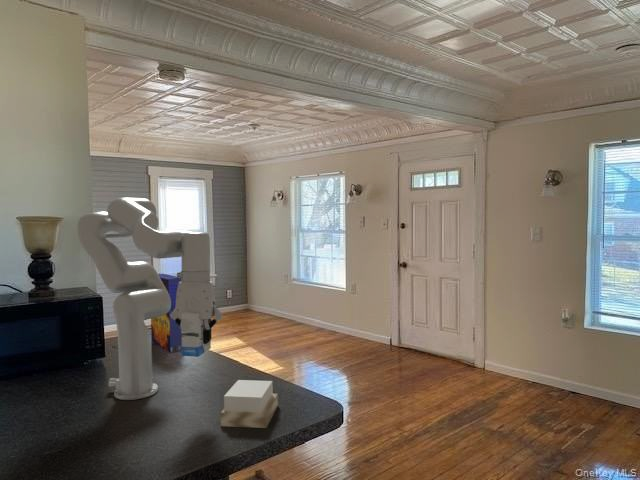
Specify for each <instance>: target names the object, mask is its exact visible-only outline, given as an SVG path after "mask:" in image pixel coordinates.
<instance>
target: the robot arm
mask: <svg viewBox="0 0 640 480" xmlns="http://www.w3.org/2000/svg"><path fill="white" fill-rule="evenodd" d="M76 226H77V228H76V229H77V237H78V240H79V243H80V245H81V246H82V248H83V250H84V252H86V253H87V255H88V256H89V257H90V258H91V260H92V261H93V263H94V265H95V267H96V269H97V271H98V273H99V275H100V277H101V278H102V281H103V283H104V284H105V286H106V288H107V289H108V290H109V292H111V293H113V294H119V295H118V296H116V298H115V299H114V301H113V304H112V309H113V314H114V318H115V323H116V324H115V325H116V329H117V331H116V332H117V347H118V348H117V349H118V352H117V353H118V373H119V374H118V378H116V377H115V378H114V377H111V378H109V379H108V387H109V388H110V387H115V390H114V392H113V396H114V398H115V399H118V400H121V401H133V400H139V399H144V398H148V397H150V396H152V395H153V396H154V395H155V394H156V393H157V392H158V390H159V385H158V384H157V383H154V382H153V353H152V351H153V349H152V336H151V330H150V329H149V327H148V326H147V324H145V321H147V320H151V318H156V317H160V316H163V315H165V314H167V313H168V312H169V310H170V307H171V299H170V296H169V293H168V291H167V290H166V288H165V286H164V284H163V282H162V281H161V279H160V277H159V275H158V274H159V273H158V272H157V270H156V268H155V267H154V266H153V265H152V264H151V263H150V262H147V261H143V260H142V261H141V260H140V261H139V260H138V261H129V260H127V259H126V257H124V255H123V253H122V251H121V250H120V248H119V247H117V245H115V244H114V243H112V242H111V241H109V240H108V239H110V238H111V239H113V238H115V239H116V238H128V237H132V240H133V243H134V245H135V247H136V248H137V249H138V250H139V251H141V252H142V253H144V254H146V255H147V256H149V257H151V258H153V259H170V258H171V259H172V258H181V270H180V272H179V271H178V272H177V273H176V277H180V278H181V280H182V282H179V283H178V288H177V295H176V307H175V309H174V310H173V311H172V313H171V314H170V317H171V318H172V319H173V320H175V322H176V323H177V324H178V325H179V326H180V328H181V313H182V312H191V313H200V320H203V322H204V325H205V330H204V331H203V337H204V344H207V343H209V342H210V340H211V341H212V328H213V327H214V326H215V324H217V323H218V322H220V320H221V319H222V318H223V317H224V314H223V313H222V312H221V311H220V309H218V307H217V306H216V302H217V301H216V294H215V288H214V284H213V281H211V246H210V245H211V242H210V241H211V239H210V234H209V233H208V232H205V231H191V230H183V229H181V230H178V229H177V230H157V229H158V227H159V218H158V216H157V207H156V206H155V204H154V203H153V202H152V201H151V200H149V199H147V198H144V197H143V198H142V197H117V198H115V199H113V200H112V201H110V202H109V204H108V205H107V209H106V211H93V212H88V213H84V214H83V215H82V216H81V217H80V218H79V219H78V222H77V225H76ZM214 316H215V317H214ZM212 317H214V318H213V319H212Z"/></svg>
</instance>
